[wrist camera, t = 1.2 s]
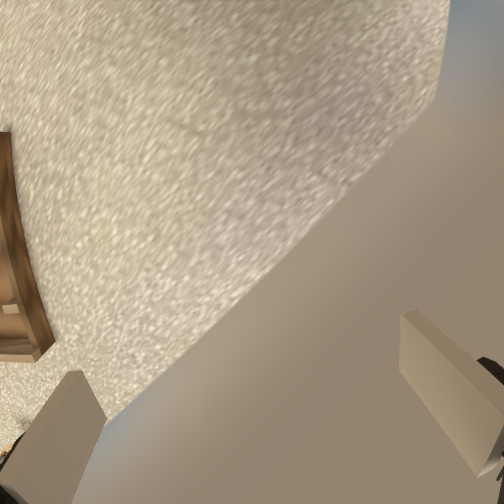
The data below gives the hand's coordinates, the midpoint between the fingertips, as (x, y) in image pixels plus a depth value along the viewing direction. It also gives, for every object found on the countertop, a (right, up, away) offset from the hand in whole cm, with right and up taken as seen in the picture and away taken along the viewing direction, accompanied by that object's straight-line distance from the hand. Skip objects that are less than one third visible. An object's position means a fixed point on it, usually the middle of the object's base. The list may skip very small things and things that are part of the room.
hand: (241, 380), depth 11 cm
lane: (-38, +5, +23) cm, 45 cm away
